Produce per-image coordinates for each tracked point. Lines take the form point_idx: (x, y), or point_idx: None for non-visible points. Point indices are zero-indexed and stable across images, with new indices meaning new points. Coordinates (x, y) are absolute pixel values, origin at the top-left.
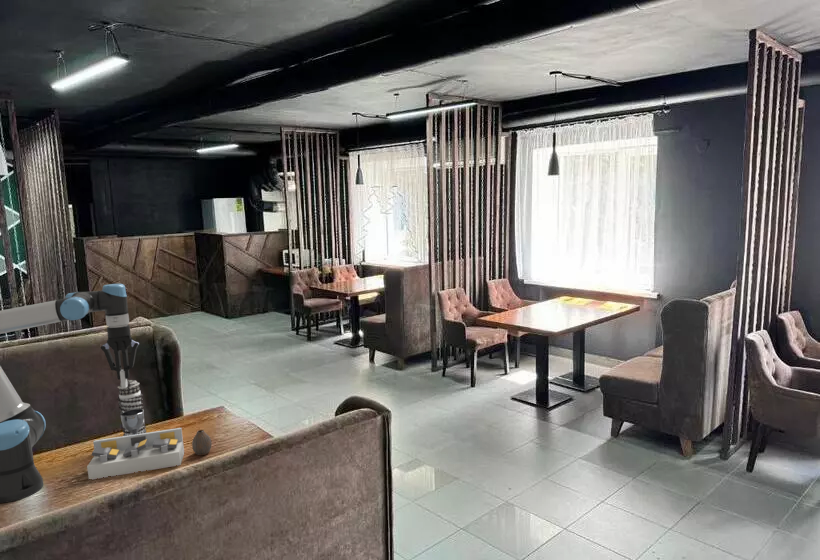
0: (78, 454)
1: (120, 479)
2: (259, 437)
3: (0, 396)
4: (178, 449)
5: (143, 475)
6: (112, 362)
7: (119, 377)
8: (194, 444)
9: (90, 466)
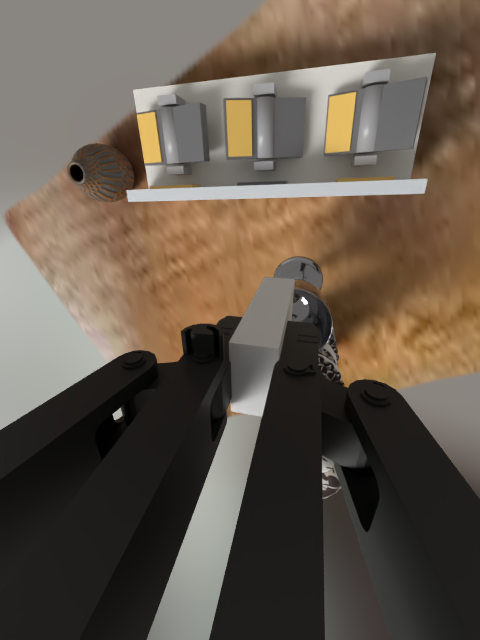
0: (455, 310)
1: (312, 38)
2: (20, 224)
3: None
4: None
5: (244, 50)
6: (390, 508)
7: (298, 331)
8: (109, 151)
9: (422, 55)
